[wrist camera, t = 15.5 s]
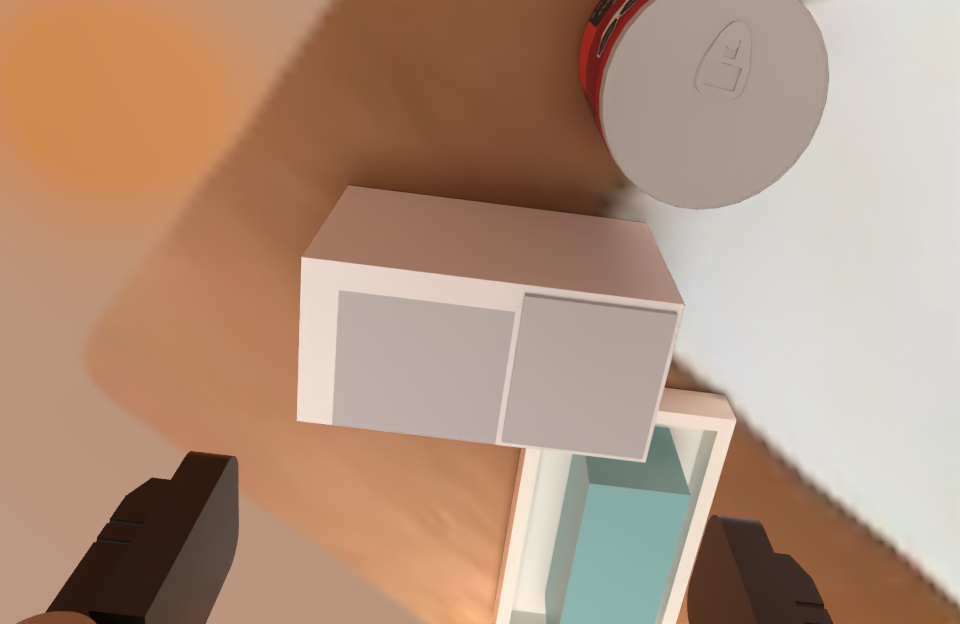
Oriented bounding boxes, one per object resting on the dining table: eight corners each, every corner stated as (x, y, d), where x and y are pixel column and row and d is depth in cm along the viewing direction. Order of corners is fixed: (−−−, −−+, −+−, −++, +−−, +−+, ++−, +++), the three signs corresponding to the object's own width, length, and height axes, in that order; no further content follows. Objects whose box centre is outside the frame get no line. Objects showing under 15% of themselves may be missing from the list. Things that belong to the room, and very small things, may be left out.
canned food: (752, -44, 35) (847, -37, 25) (737, 138, 39) (816, 208, 29) (576, -34, 36) (601, -23, 26) (576, 145, 39) (599, 216, 29)
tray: (724, 394, 45) (736, 420, 42) (657, 629, 52) (663, 662, 50) (534, 371, 44) (535, 395, 42) (493, 610, 52) (492, 642, 49)
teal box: (668, 427, 45) (693, 503, 39) (624, 603, 50) (639, 692, 44) (579, 417, 45) (590, 491, 39) (544, 594, 50) (549, 682, 44)
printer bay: (645, 222, 41) (686, 307, 31) (617, 353, 44) (646, 466, 34) (348, 185, 40) (299, 259, 31) (341, 320, 43) (295, 424, 34)
